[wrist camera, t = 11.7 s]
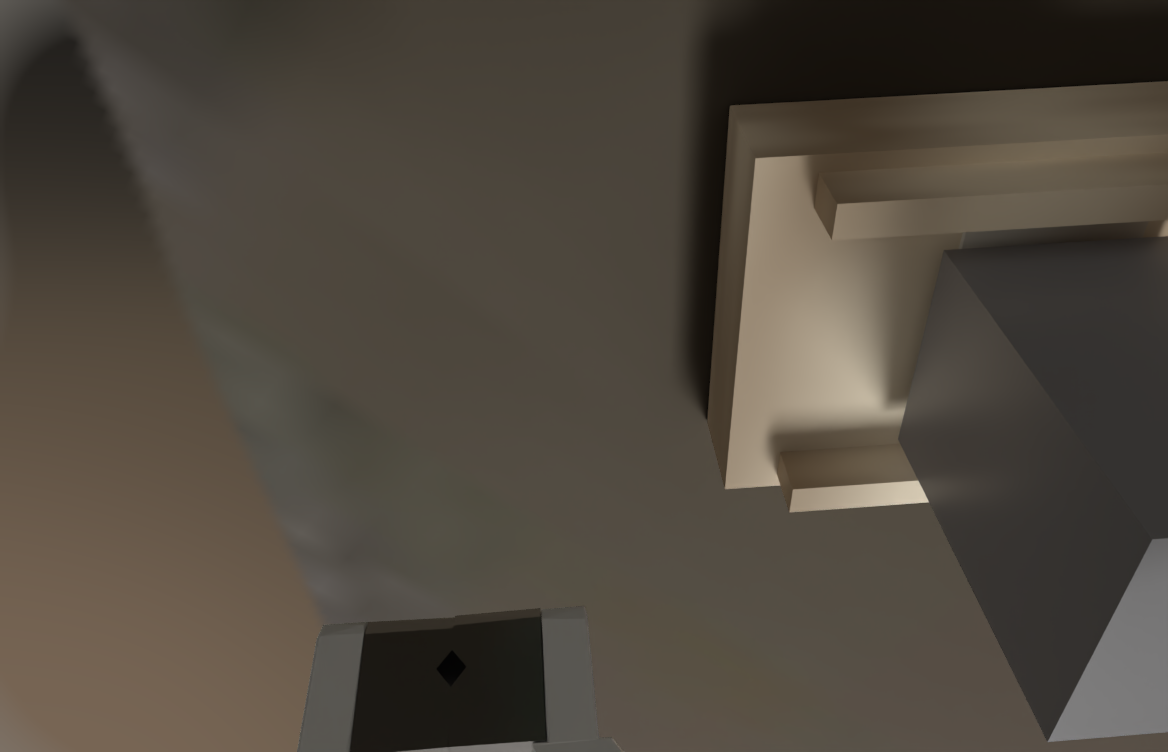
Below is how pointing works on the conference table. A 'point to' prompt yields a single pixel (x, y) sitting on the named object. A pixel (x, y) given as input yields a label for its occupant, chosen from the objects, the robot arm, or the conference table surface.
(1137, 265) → the grey rectangular block
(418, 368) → the conference table surface
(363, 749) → the robot arm
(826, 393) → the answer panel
